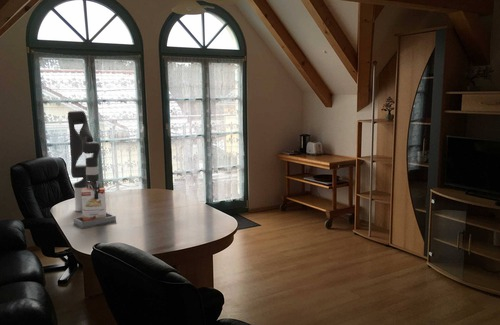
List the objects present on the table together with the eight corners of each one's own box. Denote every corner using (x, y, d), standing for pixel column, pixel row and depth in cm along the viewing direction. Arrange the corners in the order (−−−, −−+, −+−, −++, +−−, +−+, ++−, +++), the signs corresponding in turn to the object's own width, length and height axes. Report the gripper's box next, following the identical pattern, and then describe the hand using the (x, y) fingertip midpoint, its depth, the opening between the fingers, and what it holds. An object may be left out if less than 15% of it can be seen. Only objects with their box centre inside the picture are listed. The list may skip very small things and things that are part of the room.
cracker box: (82, 222, 265) (80, 190, 262) (83, 219, 271) (82, 188, 268) (105, 220, 269) (104, 189, 266) (106, 218, 274) (105, 187, 272)
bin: (73, 224, 267) (73, 218, 267) (106, 217, 282) (106, 212, 282) (82, 228, 257) (82, 222, 257) (115, 221, 272) (115, 215, 272)
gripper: (81, 172, 268) (83, 197, 270) (91, 175, 258) (92, 201, 260) (93, 171, 273) (94, 195, 275) (102, 174, 263) (104, 199, 265)
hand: (93, 198), depth 268 cm, fingers closed on cracker box, 8 cm apart
